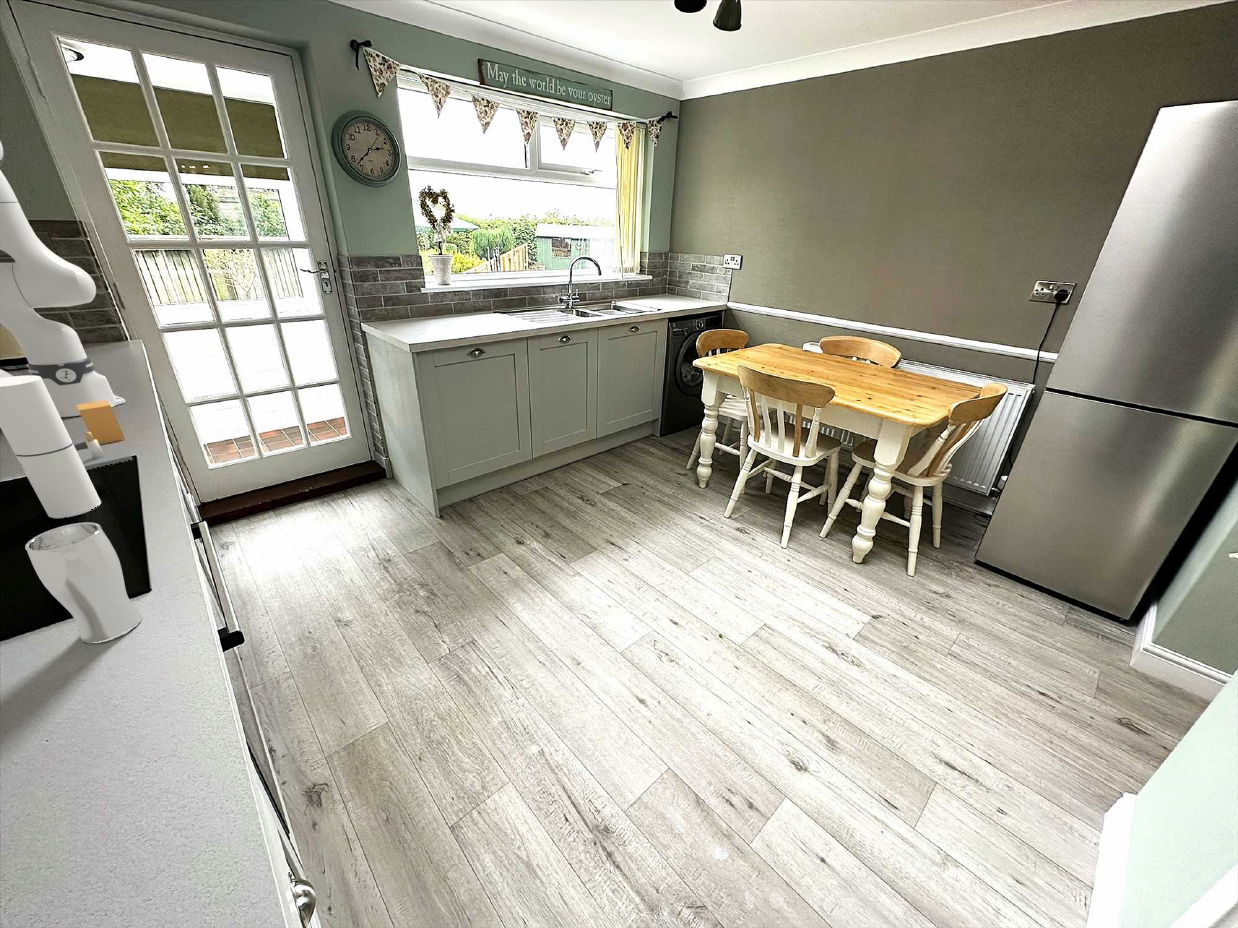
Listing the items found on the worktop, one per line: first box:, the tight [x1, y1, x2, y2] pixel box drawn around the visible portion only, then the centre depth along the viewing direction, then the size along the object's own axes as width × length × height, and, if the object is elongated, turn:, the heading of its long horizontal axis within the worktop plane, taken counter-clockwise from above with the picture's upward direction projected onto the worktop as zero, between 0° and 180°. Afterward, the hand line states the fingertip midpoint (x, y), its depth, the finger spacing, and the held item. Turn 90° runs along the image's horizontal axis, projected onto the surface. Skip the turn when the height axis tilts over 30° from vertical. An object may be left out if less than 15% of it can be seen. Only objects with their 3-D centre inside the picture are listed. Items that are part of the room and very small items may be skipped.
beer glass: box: [24, 521, 143, 644], centre depth 64 cm, size 7×7×15 cm
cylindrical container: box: [0, 374, 102, 519], centre depth 89 cm, size 7×7×25 cm
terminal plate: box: [76, 440, 134, 471], centre depth 113 cm, size 12×10×1 cm
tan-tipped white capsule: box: [83, 431, 104, 459], centre depth 111 cm, size 2×2×6 cm
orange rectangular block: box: [77, 400, 125, 446], centre depth 121 cm, size 5×5×9 cm
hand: (40, 402), depth 113 cm, fingers open, 8 cm apart
